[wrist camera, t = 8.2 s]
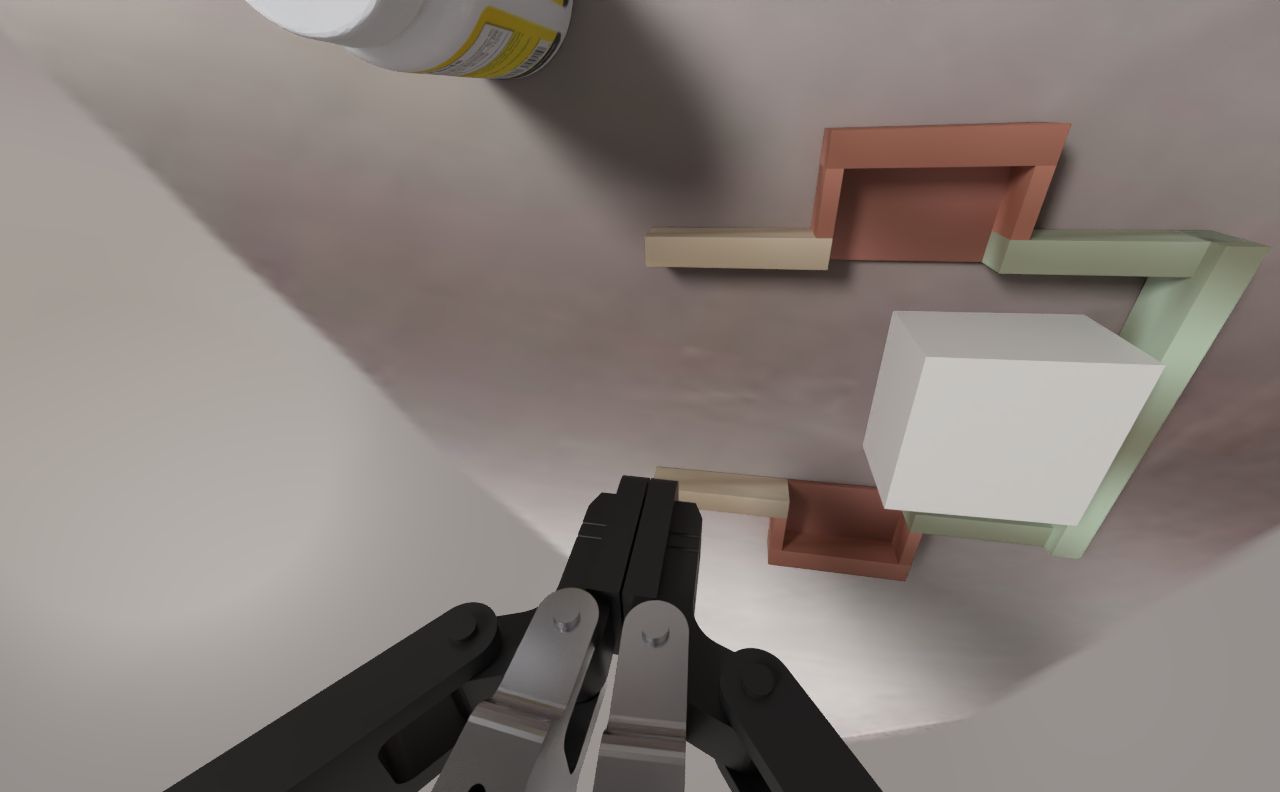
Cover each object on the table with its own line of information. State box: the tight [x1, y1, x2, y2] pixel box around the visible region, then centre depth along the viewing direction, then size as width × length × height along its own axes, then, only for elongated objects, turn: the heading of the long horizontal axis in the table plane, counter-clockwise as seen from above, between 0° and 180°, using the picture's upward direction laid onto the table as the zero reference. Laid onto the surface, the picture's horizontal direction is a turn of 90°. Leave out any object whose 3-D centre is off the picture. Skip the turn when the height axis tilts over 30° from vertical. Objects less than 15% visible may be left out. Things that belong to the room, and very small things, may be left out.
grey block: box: [863, 311, 1166, 526], centre depth 17 cm, size 6×6×4 cm
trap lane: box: [645, 122, 1271, 581], centre depth 18 cm, size 18×17×2 cm
